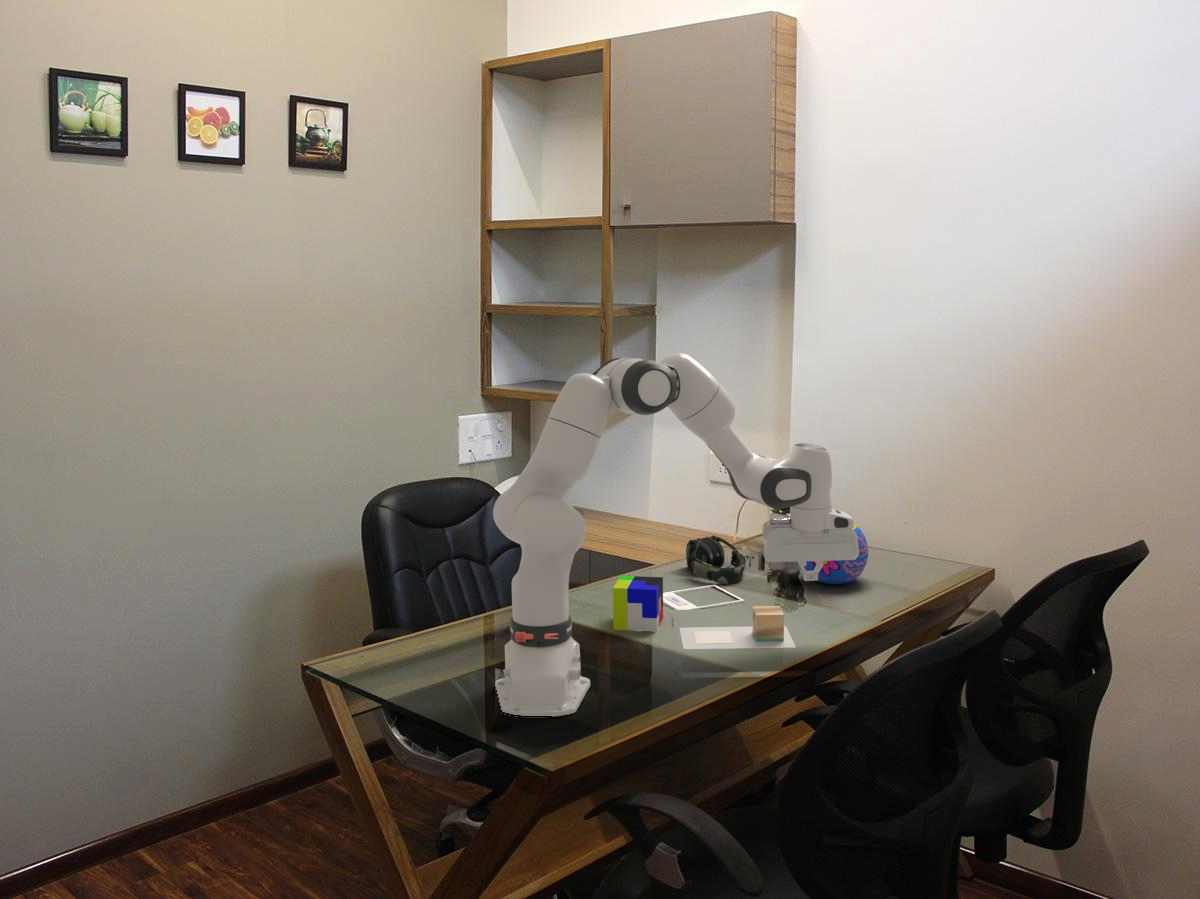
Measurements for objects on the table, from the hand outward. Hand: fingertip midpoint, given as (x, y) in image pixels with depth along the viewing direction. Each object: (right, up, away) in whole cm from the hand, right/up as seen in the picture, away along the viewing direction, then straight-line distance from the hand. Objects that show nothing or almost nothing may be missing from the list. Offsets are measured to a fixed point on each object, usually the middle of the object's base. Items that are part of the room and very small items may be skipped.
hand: (810, 579), depth 239 cm
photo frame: (-22, -9, +33) cm, 41 cm away
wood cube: (-9, -13, +2) cm, 16 cm away
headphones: (-15, -5, +54) cm, 56 cm away
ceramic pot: (+14, -6, +45) cm, 48 cm away
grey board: (-16, -14, +2) cm, 21 cm away
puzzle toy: (-37, -12, +15) cm, 42 cm away
